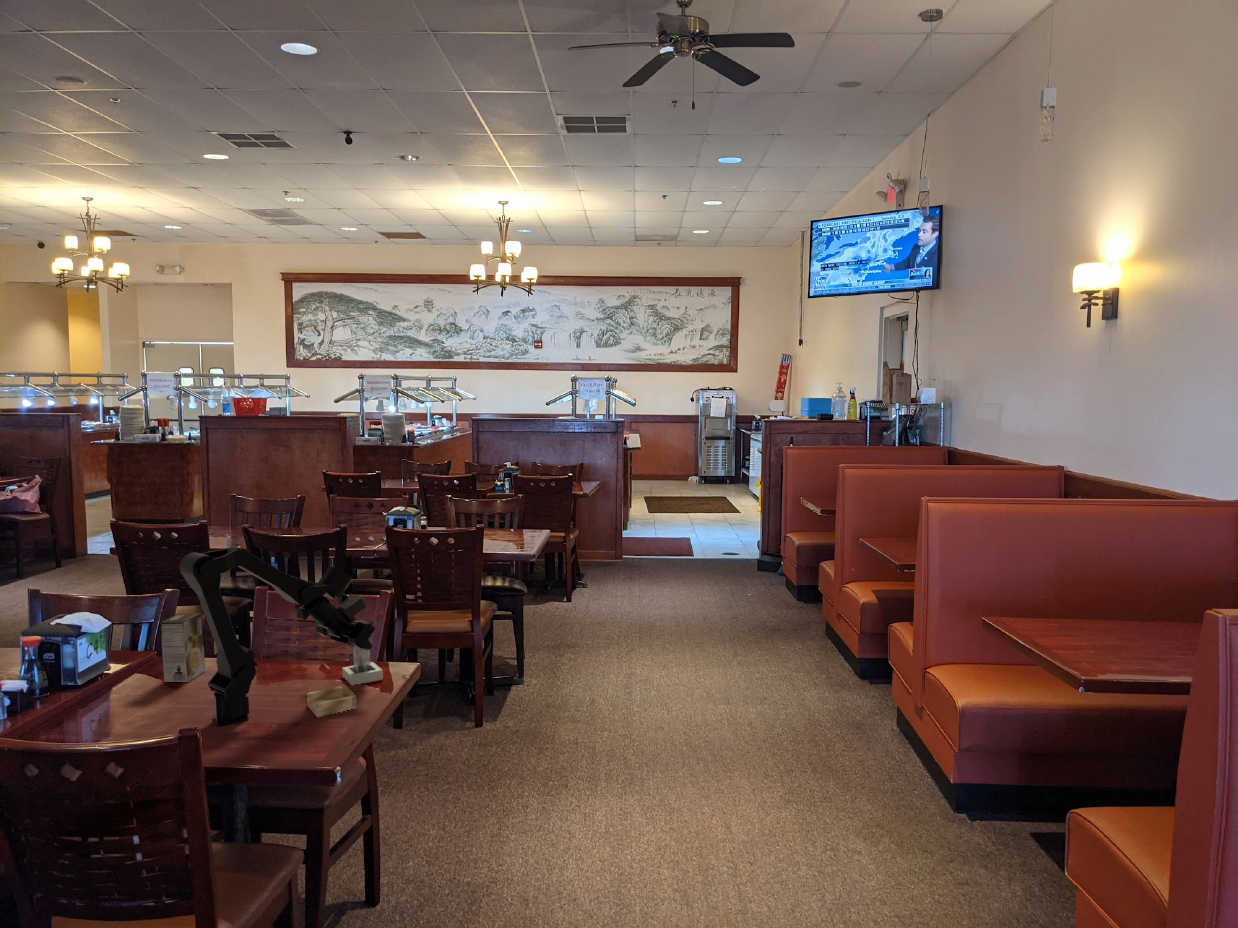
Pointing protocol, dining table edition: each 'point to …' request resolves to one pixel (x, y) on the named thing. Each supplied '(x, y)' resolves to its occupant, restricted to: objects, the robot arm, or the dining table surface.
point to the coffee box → (183, 647)
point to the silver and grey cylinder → (361, 659)
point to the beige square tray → (331, 701)
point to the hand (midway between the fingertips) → (366, 646)
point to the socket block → (362, 674)
